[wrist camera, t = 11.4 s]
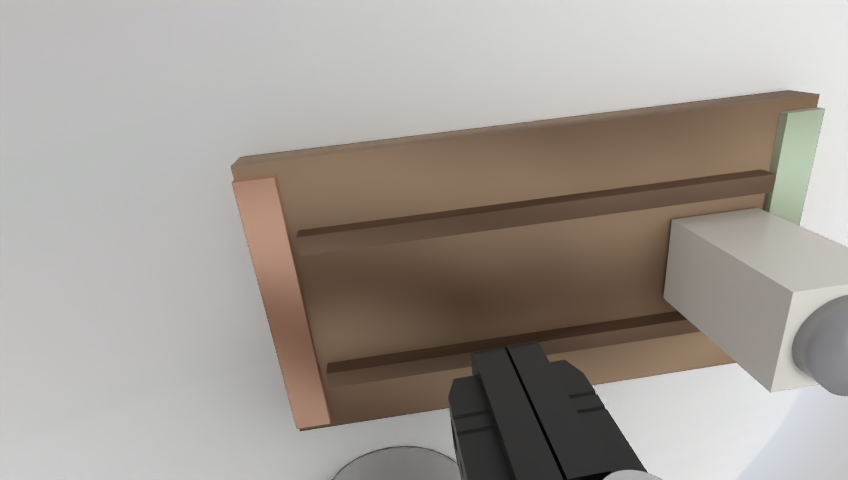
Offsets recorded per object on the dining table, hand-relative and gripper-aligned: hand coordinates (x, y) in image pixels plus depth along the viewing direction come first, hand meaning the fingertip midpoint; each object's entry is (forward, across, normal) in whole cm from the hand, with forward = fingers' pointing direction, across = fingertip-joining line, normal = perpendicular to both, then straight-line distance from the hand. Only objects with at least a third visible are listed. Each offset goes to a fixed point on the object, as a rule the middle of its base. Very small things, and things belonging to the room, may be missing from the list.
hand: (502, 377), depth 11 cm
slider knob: (+5, -9, +1) cm, 10 cm away
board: (+7, -3, +1) cm, 7 cm away
